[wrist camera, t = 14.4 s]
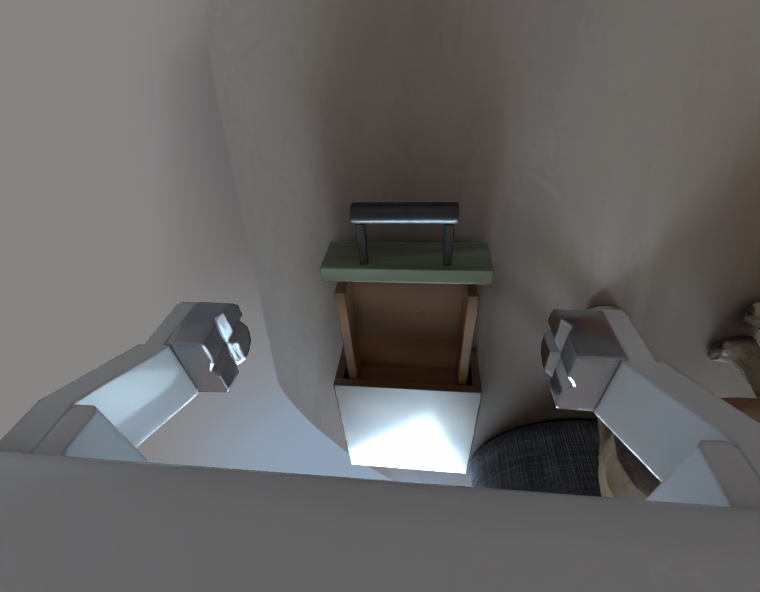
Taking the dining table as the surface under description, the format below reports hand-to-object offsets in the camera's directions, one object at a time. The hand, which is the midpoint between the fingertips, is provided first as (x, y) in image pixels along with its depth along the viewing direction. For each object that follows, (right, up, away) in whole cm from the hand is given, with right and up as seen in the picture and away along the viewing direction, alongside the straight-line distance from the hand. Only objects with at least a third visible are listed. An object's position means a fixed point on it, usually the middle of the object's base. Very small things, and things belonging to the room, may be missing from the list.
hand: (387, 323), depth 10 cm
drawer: (+2, +1, +22) cm, 22 cm away
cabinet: (+3, -10, +33) cm, 35 cm away
